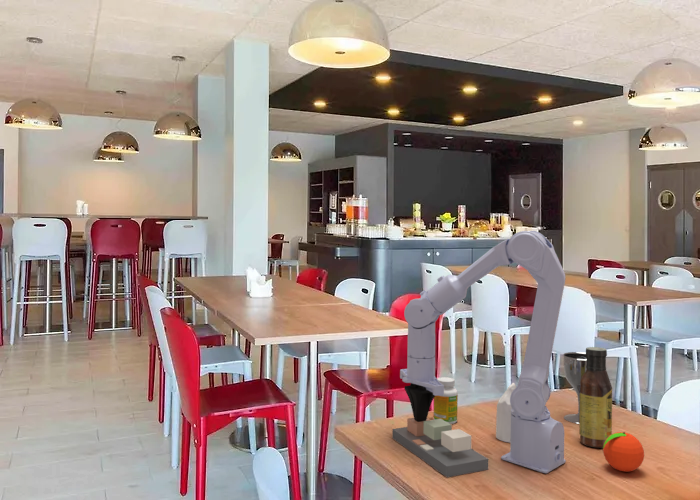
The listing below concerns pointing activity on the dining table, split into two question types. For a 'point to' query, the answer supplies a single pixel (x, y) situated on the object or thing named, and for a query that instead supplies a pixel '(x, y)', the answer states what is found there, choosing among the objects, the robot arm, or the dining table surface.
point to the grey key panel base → (441, 454)
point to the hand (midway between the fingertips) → (420, 420)
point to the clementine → (623, 451)
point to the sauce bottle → (595, 400)
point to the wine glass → (574, 376)
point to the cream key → (456, 440)
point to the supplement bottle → (446, 401)
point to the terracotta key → (415, 427)
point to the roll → (504, 416)
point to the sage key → (435, 428)
